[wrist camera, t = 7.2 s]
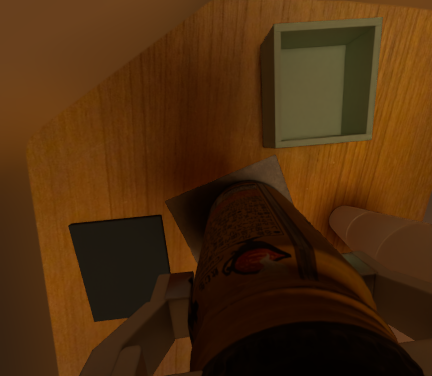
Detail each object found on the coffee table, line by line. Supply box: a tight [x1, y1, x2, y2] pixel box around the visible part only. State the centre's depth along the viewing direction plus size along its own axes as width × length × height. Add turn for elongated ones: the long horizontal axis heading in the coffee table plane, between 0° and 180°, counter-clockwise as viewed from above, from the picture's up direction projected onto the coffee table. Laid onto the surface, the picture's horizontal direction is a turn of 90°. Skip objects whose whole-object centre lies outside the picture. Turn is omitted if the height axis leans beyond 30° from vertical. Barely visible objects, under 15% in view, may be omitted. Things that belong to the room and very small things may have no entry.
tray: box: [261, 17, 383, 148], centre depth 27 cm, size 14×13×5 cm
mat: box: [68, 215, 171, 322], centre depth 34 cm, size 18×14×1 cm
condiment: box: [165, 155, 425, 376], centre depth 10 cm, size 7×8×12 cm
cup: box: [329, 206, 432, 283], centre depth 26 cm, size 11×11×18 cm
